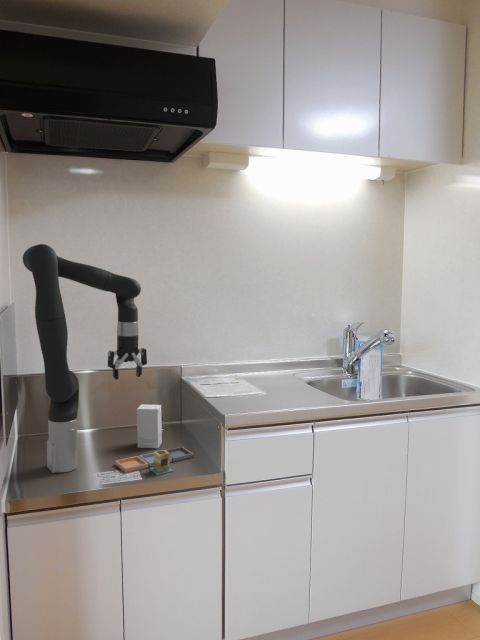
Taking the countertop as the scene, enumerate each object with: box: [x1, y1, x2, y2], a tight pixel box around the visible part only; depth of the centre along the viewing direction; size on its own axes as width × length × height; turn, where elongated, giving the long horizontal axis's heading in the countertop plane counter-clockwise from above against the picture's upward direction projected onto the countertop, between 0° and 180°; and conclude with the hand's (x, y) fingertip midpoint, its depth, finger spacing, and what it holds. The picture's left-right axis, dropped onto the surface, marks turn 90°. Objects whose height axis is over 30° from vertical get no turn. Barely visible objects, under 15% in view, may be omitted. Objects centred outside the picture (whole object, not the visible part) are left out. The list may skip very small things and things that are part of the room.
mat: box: [148, 467, 174, 476], centre depth 177 cm, size 6×6×1 cm
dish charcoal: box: [165, 446, 195, 463], centre depth 191 cm, size 8×8×2 cm
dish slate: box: [138, 452, 173, 468], centre depth 185 cm, size 8×8×2 cm
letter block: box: [153, 449, 170, 473], centre depth 177 cm, size 4×4×6 cm
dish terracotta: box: [114, 455, 149, 474], centre depth 180 cm, size 8×8×2 cm
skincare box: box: [136, 403, 163, 449], centre depth 200 cm, size 8×7×16 cm
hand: (127, 377), depth 190 cm, fingers open, 8 cm apart
